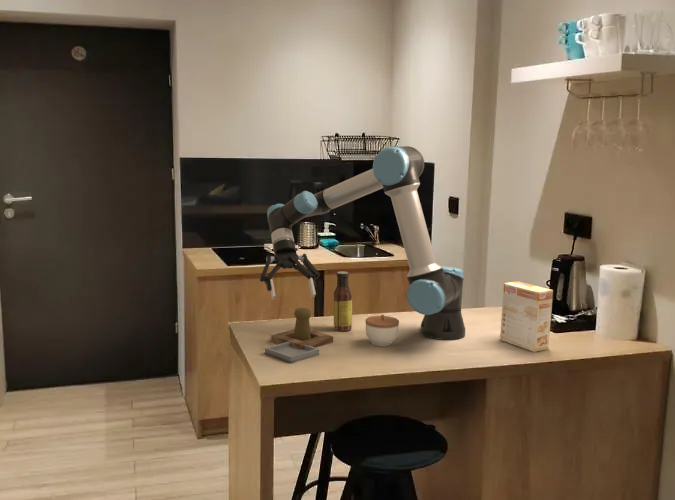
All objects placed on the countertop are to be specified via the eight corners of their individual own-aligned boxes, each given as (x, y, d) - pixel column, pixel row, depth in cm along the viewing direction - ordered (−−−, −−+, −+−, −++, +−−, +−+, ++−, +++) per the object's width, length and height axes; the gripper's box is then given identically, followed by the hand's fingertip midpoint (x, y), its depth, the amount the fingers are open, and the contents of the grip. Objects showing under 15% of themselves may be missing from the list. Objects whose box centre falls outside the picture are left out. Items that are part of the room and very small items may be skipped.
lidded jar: (357, 342, 227) (358, 314, 225) (379, 336, 235) (380, 308, 233) (383, 350, 220) (384, 321, 218) (404, 343, 228) (406, 315, 226)
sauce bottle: (355, 329, 242) (357, 272, 239) (345, 333, 237) (347, 275, 234) (339, 325, 246) (340, 269, 242) (329, 329, 241) (330, 272, 237)
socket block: (333, 342, 227) (333, 336, 227) (301, 351, 217) (301, 345, 216) (302, 332, 236) (302, 327, 236) (271, 341, 226) (271, 335, 226)
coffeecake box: (549, 349, 226) (554, 289, 223) (533, 352, 222) (538, 292, 219) (514, 337, 239) (518, 280, 235) (499, 340, 235) (503, 282, 231)
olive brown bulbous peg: (309, 345, 223) (309, 311, 221) (290, 343, 224) (291, 310, 222) (313, 339, 229) (314, 306, 227) (295, 338, 230) (296, 305, 228)
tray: (319, 354, 214) (319, 349, 214) (291, 363, 206) (291, 357, 205) (292, 345, 222) (292, 340, 222) (264, 353, 214) (264, 348, 213)
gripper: (315, 249, 250) (327, 301, 239) (246, 251, 243) (254, 305, 231) (320, 237, 245) (332, 289, 233) (249, 238, 237) (258, 293, 225)
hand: (294, 297), depth 232 cm, fingers open, 13 cm apart
